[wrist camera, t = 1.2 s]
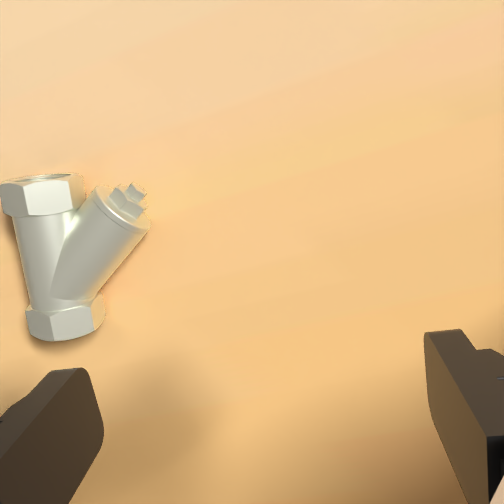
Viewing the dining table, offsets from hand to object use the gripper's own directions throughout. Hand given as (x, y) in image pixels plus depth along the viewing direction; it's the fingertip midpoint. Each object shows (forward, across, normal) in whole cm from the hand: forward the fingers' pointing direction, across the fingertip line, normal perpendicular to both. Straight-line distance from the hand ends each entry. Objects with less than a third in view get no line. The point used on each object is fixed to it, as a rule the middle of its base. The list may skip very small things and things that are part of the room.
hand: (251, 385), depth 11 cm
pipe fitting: (+15, +10, -1) cm, 18 cm away
